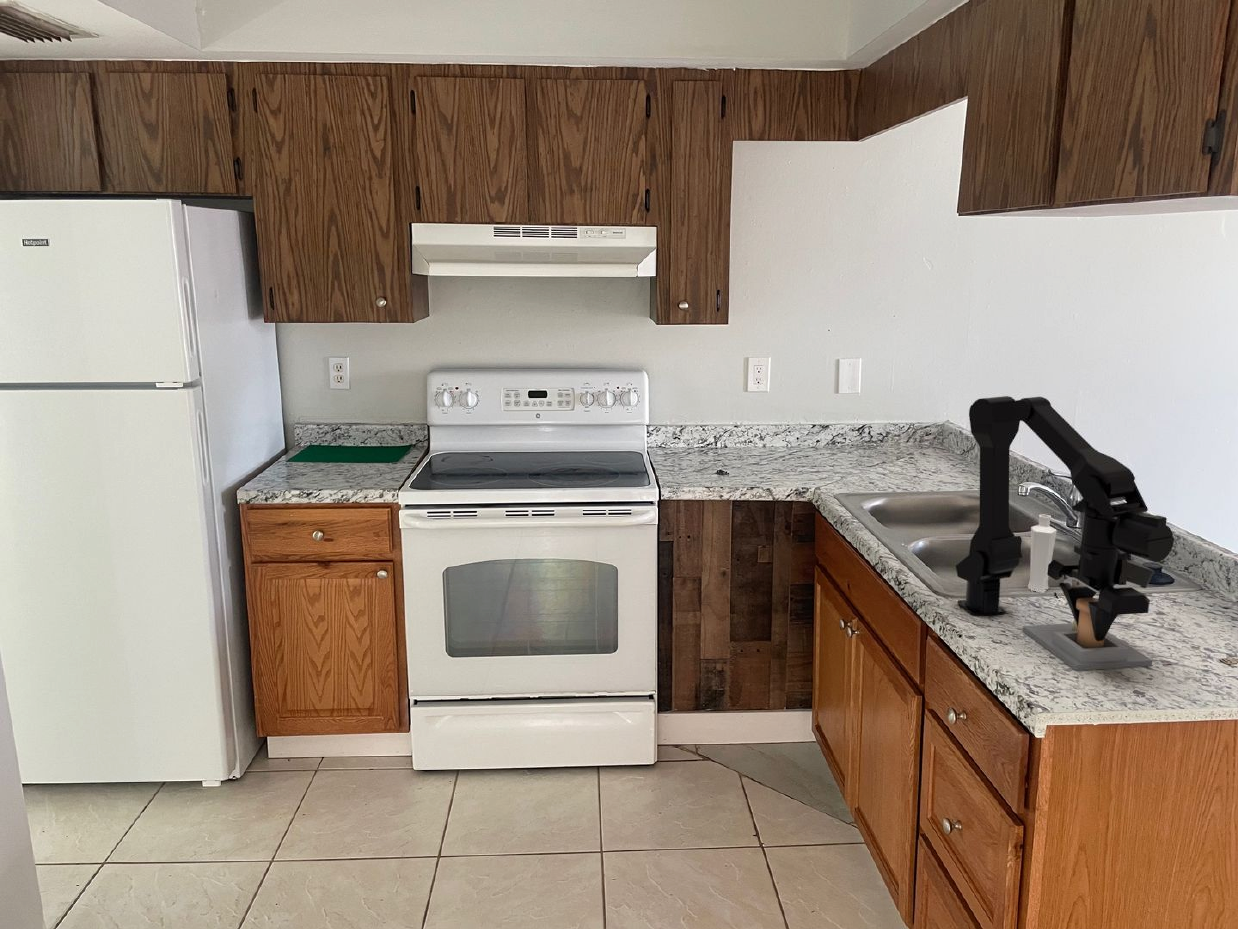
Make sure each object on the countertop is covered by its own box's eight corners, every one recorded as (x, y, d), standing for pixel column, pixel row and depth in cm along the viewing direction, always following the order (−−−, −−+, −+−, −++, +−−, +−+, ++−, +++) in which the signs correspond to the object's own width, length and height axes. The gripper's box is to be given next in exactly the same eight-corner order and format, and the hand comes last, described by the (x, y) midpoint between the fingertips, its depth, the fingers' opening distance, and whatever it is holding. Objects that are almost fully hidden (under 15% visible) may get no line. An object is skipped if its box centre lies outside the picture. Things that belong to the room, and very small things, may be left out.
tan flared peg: (1066, 638, 158) (1070, 598, 157) (1095, 636, 159) (1099, 596, 158) (1084, 651, 153) (1088, 610, 152) (1114, 649, 154) (1119, 608, 152)
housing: (1022, 631, 167) (1024, 610, 166) (1092, 627, 169) (1094, 606, 168) (1075, 671, 152) (1078, 647, 151) (1151, 666, 153) (1154, 642, 152)
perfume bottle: (1053, 594, 185) (1061, 519, 181) (1029, 593, 185) (1036, 518, 182) (1047, 586, 189) (1054, 513, 186) (1024, 584, 190) (1031, 512, 186)
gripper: (1187, 559, 144) (1175, 655, 148) (1111, 524, 162) (1102, 610, 166) (1119, 563, 143) (1107, 660, 147) (1049, 527, 161) (1041, 614, 165)
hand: (1090, 634), depth 156 cm, fingers closed on tan flared peg, 4 cm apart
